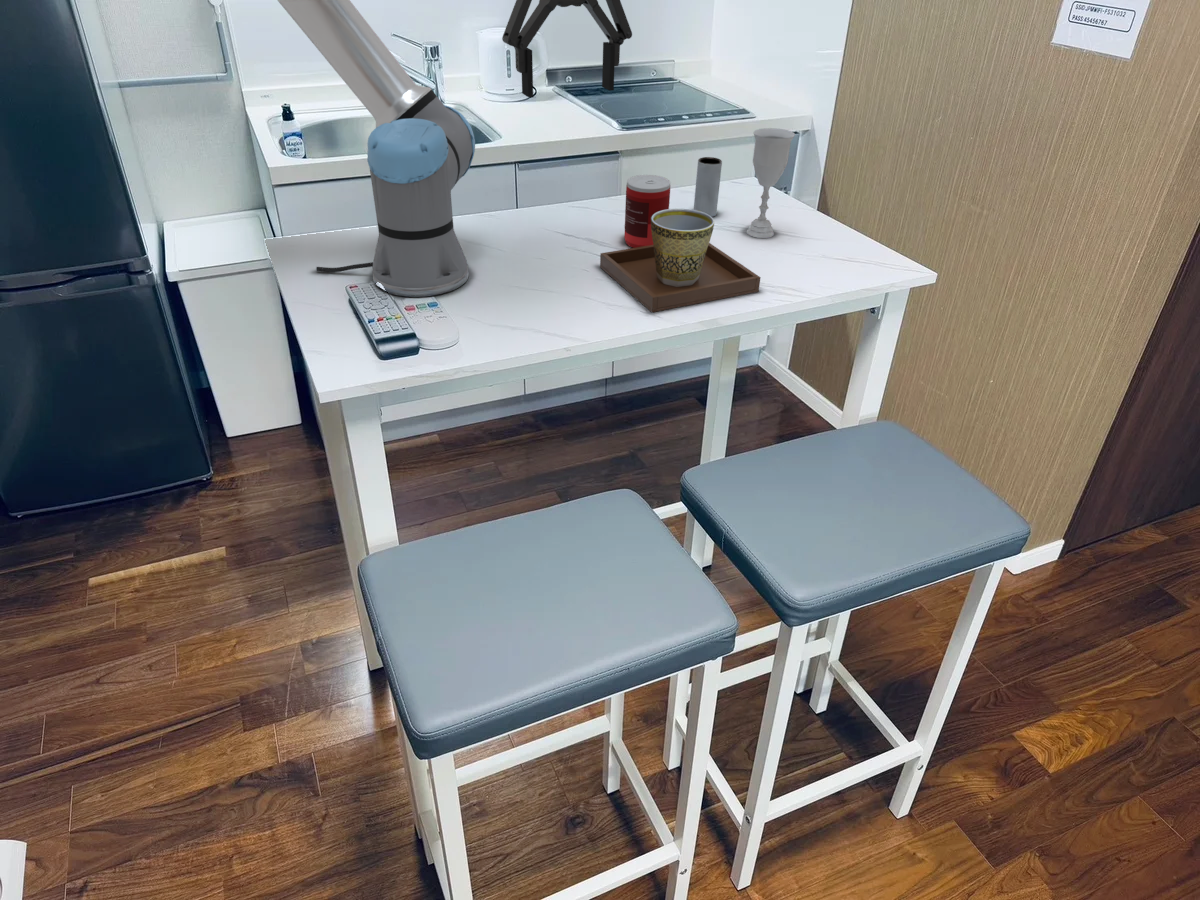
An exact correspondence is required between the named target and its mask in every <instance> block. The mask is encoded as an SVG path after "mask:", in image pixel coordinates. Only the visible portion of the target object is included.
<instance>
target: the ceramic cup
mask: <svg viewBox="0 0 1200 900" xmlns="http://www.w3.org/2000/svg"><path fill="white" fill-rule="evenodd" d="M714 227H715V219H714V218H713V217H711V216H710V215H708V214H706V213H703V212H701V211H699V210H694V209H690V208H669V209H666V210H662V211H659V212H656V213H655V214H653V215H652V216H651V231H652V239H653V245H654V254H655V263H656V272H657V277H658V278H659V279H660V281H661V282H662V283H663V284H666V285H671V286H675V287H681V286H689V285H693V284H694V283H695V282H696V281H697V280H698V278H699V276H700V273H701V269H702V265H703V262H704V258H705V255H706V251H707V248H708V245H709V243H711V242H710V241H711V238H712V235H713V231H714Z"/></svg>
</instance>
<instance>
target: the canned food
mask: <svg viewBox="0 0 1200 900" xmlns="http://www.w3.org/2000/svg"><path fill="white" fill-rule="evenodd" d="M670 199H671V181H670V179H668V178H666V177H664V176H661V175H657V174H639V175H634V176H630V177H629V178H628V179H627V180H626V187H625V209H624V237H623V238H624V242H625V244H626V245H627V246H628V247H630V248H636V247H643V246H649V245H653V239H652V231H651V216H652V215H653V214H655V213H656V212H659V211H662V210H666V209H670V202H671V201H670Z"/></svg>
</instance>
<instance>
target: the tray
mask: <svg viewBox="0 0 1200 900" xmlns="http://www.w3.org/2000/svg"><path fill="white" fill-rule="evenodd" d="M599 257H600V258H599V260H600V261H599V265H600V266H599V268H600V269H601V270H602V271H604V272H605V273H606V274H607V275H608V276H610V278H612V279H613V280H614V281H615V282H616V283H617V284H619V285H620V286H621V287H622V288H623V289H624V290H626V291H627V292H628V293H629V294H630V295H631V296H632V297H633V298H634V299H636V300H637V301H638V302H639V303H640V304H642V306H644V307H645V308H646V309H647V310H648V311H650V312H651V313H656V312H662V311H665V310H671V309H677V308H681V307H688V306H693V305H699V304H703V303H707V302H713V301H717V300H722V299H728V298H733V297H739V296H742V295H743V296H744V295H749V294H754V293H758V292H759V291H760V284H761V276H759V275H758V274H756V273H755V272H754V271H752V270H750V269H749V268H748V267H746V266H744V264H741V263H740V262H739V261H737V260H736V259H734V258H733V257H731V256H730V255H729V254H727V253H726V252H724V251H722V250H721V249H720V248H718V247H717V246H715V245H714V244H712V243H711V242H709V245H708V248H707V251H706V255H705V258H704V262H703V265H702V269H701V273H700V276H699V278H698V280H697V281H696V282H695V283H694V284H693V285H689V286H681V287H675V286H671V285H666V284H663V283H662V282H661V281H660V279H659V278H658V277H657V272H656V263H655V254H654V245H649V246H643V247H636V248H632V247H630V248H625V249H618V250H613V251H607V252H606V251H605V252H600V256H599Z"/></svg>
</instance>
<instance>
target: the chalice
mask: <svg viewBox="0 0 1200 900" xmlns="http://www.w3.org/2000/svg"><path fill="white" fill-rule="evenodd" d="M753 136H754V139H755V141H754V149H753V157H752V163H753V165H752V166H753V169H754V173H755V176H756V179H757V182H758V185H760V186H761V187H762V188H763V192H762V194H761V196H760V200H761V204H760V205H759V206H758V208H759V212H760V214H759V216H758V217H757V218H754V219H753V220H752V221H751V223H750V225H749V227H748V229H747V230H746V234H747V235H748V236H751V237H753V238H756V239H757V238H758V239H768V238H772V237H774V235H775V232H774V231H773V226H772V222H771V221H770V220H769V219H767V215H766V213H767V210H768V209H769V208H770V207H769V206H768V202H769V199H770V193H769V192H770V188H772V187H775V186H776V185H777V183H778V181H779V180H780V178H781V177H782V175H783V174H784V171H785V169H786V168H787V165H788V163H789V156H790V149H791V143H792V141H793V139H794V138H795V136H796V133H795V132H794V131H791V130H788V129H783V128H772V127H766V128H758V129H755V130H754V131H753Z"/></svg>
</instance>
